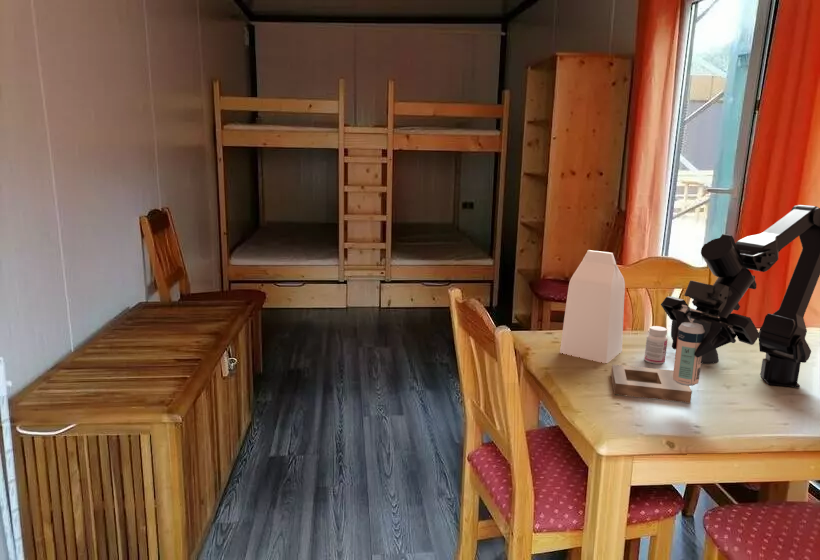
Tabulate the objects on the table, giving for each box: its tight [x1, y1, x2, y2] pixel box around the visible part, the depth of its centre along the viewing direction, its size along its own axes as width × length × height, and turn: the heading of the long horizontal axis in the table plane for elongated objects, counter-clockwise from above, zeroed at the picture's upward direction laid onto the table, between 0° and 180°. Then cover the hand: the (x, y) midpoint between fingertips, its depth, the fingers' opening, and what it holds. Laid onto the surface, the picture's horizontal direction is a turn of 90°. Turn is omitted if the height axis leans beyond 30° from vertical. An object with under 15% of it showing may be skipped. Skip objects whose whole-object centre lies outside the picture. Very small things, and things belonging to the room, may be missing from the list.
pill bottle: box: [643, 325, 668, 365], centre depth 152 cm, size 5×5×8 cm
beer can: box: [673, 322, 705, 387], centre depth 123 cm, size 5×5×12 cm
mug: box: [670, 319, 720, 365], centre depth 156 cm, size 12×9×11 cm
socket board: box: [610, 364, 693, 404], centre depth 136 cm, size 15×12×2 cm
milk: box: [559, 249, 626, 364], centre depth 156 cm, size 12×12×26 cm
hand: (684, 352), depth 122 cm, fingers closed on beer can, 5 cm apart
